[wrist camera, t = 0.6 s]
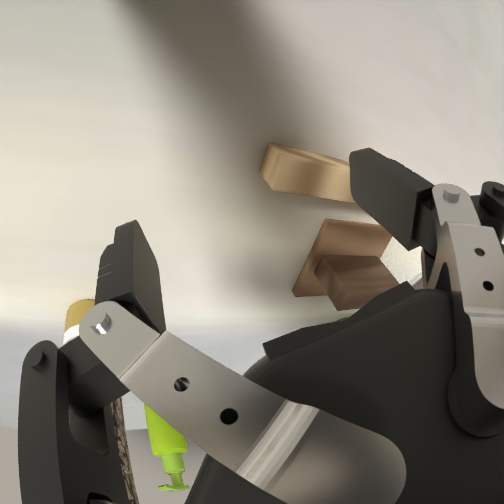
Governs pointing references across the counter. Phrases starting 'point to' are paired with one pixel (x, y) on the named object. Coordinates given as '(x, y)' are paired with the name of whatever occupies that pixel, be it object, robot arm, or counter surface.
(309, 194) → the light tan wooden bar
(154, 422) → the soap dispenser
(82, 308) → the brown bark-patterned cylinder
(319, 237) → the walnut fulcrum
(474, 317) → the robot arm
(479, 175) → the counter surface
